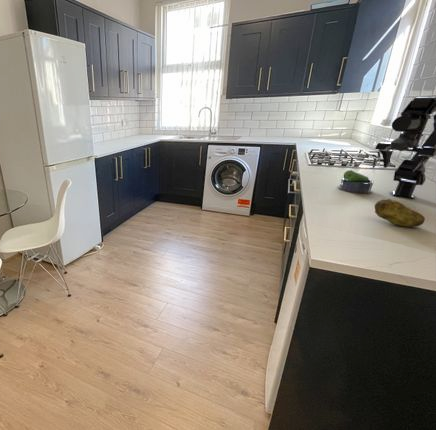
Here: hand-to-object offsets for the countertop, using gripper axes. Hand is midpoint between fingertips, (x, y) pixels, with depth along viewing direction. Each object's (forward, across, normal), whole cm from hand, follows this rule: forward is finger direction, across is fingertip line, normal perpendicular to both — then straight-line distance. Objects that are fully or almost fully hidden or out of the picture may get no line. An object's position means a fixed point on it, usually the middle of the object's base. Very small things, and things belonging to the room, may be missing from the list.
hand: (398, 169), depth 117 cm
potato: (+13, +16, -31) cm, 37 cm away
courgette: (+9, -14, +6) cm, 17 cm away
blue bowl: (+13, -14, +1) cm, 19 cm away
